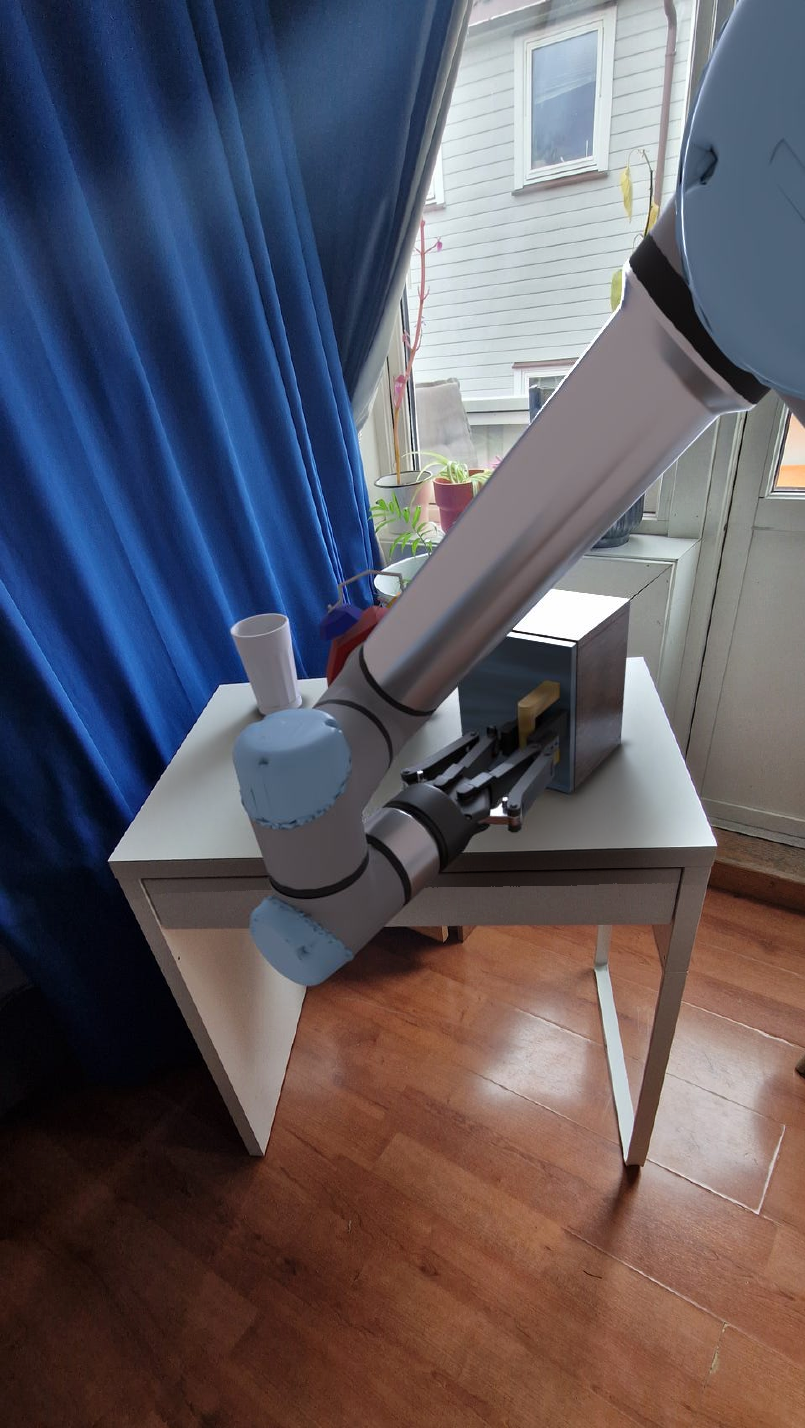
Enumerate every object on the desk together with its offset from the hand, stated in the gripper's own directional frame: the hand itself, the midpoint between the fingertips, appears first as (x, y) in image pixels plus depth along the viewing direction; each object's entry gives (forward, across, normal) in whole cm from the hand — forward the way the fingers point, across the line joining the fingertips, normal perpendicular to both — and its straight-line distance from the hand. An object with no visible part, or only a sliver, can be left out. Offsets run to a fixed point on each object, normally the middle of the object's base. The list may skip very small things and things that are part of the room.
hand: (551, 718), depth 74 cm
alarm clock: (+5, -27, -9) cm, 29 cm away
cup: (+1, -45, -9) cm, 46 cm away
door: (-2, -5, -9) cm, 10 cm away
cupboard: (+7, -5, -9) cm, 12 cm away
